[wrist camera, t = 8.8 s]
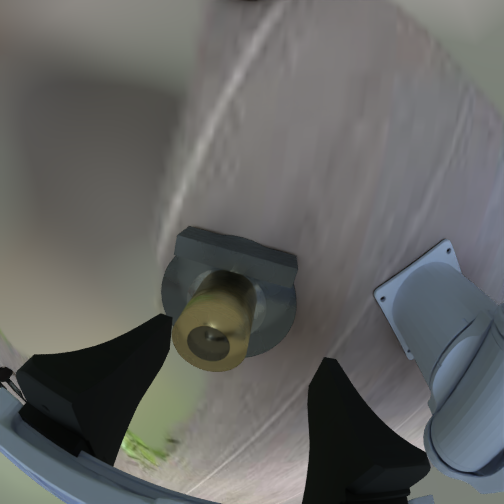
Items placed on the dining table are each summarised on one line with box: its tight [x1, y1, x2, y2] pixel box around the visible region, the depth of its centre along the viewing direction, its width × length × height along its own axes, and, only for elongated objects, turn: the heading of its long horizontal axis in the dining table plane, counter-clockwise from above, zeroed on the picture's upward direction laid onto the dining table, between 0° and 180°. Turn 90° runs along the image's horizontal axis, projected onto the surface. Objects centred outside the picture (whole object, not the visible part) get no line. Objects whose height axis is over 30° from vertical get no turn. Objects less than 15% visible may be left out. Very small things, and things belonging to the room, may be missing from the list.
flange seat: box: [161, 226, 298, 358], centre depth 21 cm, size 11×11×3 cm
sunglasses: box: [0, 367, 27, 406], centre depth 35 cm, size 10×12×5 cm
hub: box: [172, 270, 257, 372], centre depth 18 cm, size 5×5×6 cm
